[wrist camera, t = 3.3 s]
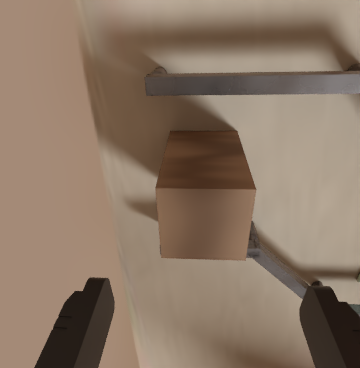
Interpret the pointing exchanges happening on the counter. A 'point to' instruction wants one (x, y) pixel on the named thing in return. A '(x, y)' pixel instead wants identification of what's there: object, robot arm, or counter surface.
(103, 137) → the counter surface
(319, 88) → the wire channel
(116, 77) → the counter surface
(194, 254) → the walnut block
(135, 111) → the counter surface
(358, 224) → the counter surface
